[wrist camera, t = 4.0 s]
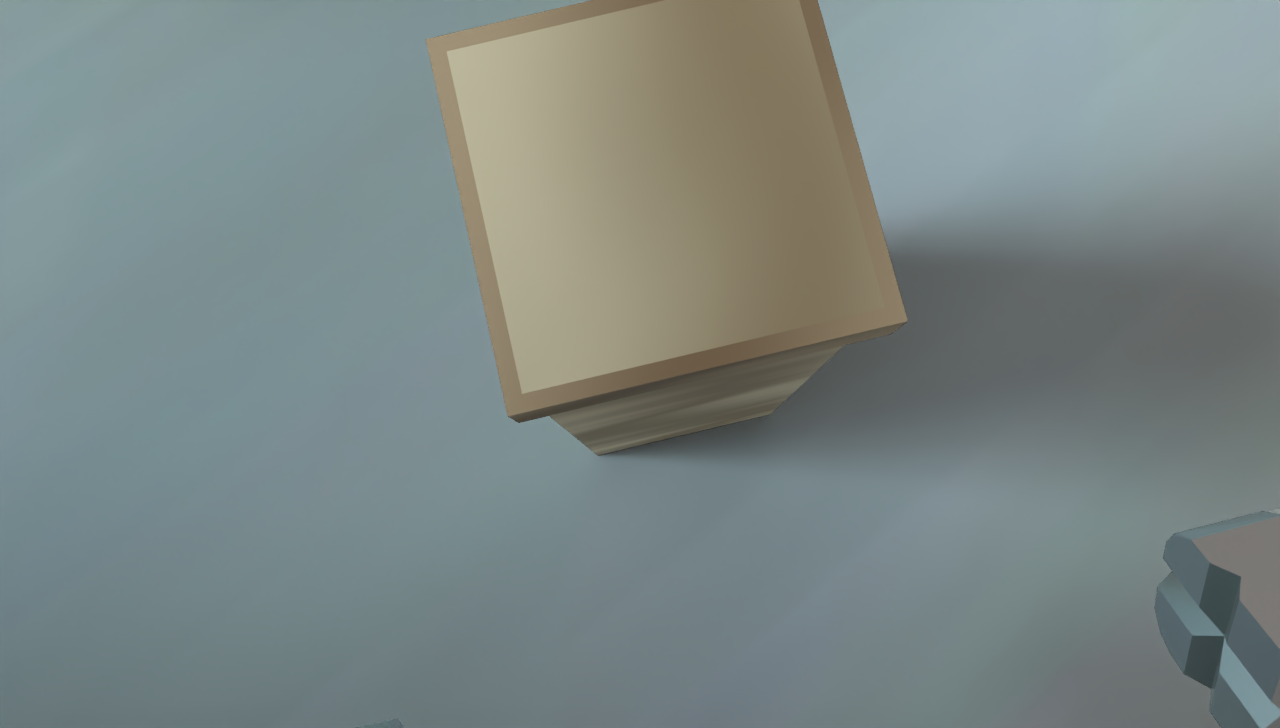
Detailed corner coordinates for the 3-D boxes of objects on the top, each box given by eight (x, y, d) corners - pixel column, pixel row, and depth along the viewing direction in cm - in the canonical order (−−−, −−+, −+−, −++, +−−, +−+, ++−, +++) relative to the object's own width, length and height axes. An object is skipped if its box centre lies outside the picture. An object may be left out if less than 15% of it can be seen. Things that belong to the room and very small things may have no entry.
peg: (590, 466, 23) (506, 416, 11) (548, 279, 23) (426, 38, 11) (781, 420, 23) (907, 321, 11) (733, 235, 23) (803, -49, 11)
